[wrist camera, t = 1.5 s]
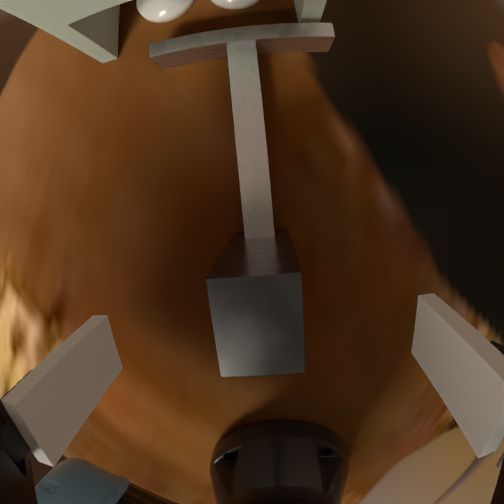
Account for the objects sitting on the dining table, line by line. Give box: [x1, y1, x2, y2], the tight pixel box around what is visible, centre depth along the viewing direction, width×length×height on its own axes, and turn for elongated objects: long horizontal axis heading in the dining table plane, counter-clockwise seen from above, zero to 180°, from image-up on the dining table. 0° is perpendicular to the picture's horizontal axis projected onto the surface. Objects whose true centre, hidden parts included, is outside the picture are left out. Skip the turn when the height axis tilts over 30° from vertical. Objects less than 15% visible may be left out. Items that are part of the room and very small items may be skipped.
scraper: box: [149, 23, 335, 377], centre depth 17 cm, size 20×13×11 cm, turn 6°
